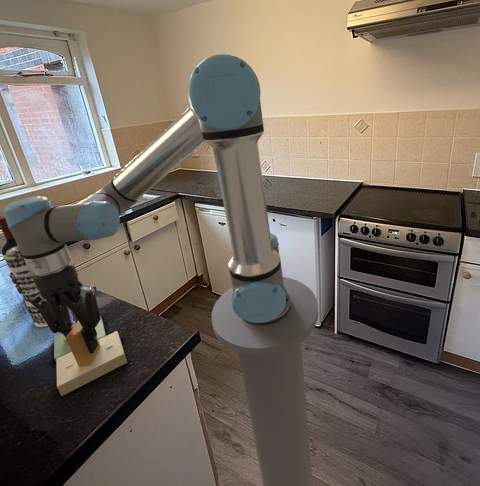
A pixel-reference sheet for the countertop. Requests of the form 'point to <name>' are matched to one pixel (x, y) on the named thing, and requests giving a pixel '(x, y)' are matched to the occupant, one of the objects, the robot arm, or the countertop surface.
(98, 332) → the green push button box
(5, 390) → the countertop surface
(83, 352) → the thumbturn
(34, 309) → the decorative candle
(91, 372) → the plate
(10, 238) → the wine bottle
